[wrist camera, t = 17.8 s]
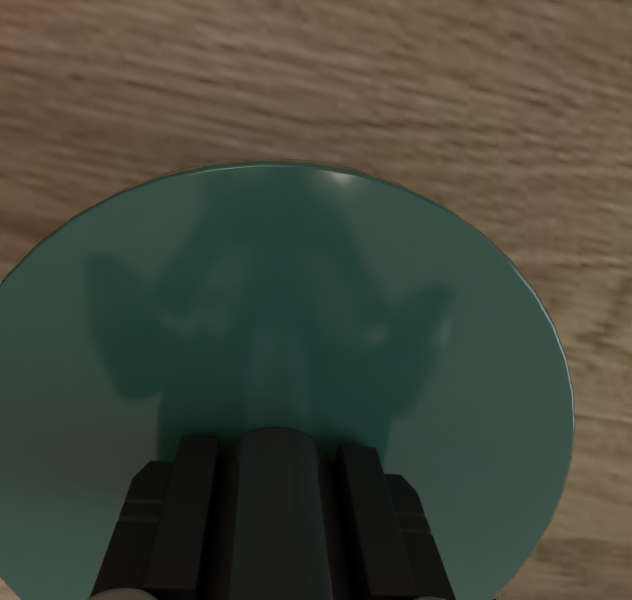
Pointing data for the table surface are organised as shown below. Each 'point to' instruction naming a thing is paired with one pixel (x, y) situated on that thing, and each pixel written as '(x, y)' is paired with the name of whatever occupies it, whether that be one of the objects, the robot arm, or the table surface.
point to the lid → (276, 378)
